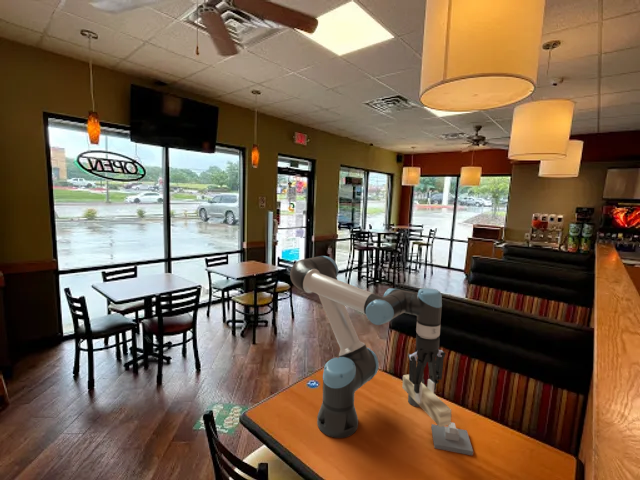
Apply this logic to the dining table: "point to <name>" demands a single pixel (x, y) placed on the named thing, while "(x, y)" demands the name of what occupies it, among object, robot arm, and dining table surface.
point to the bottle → (410, 399)
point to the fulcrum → (451, 439)
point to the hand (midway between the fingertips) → (424, 399)
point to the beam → (429, 403)
